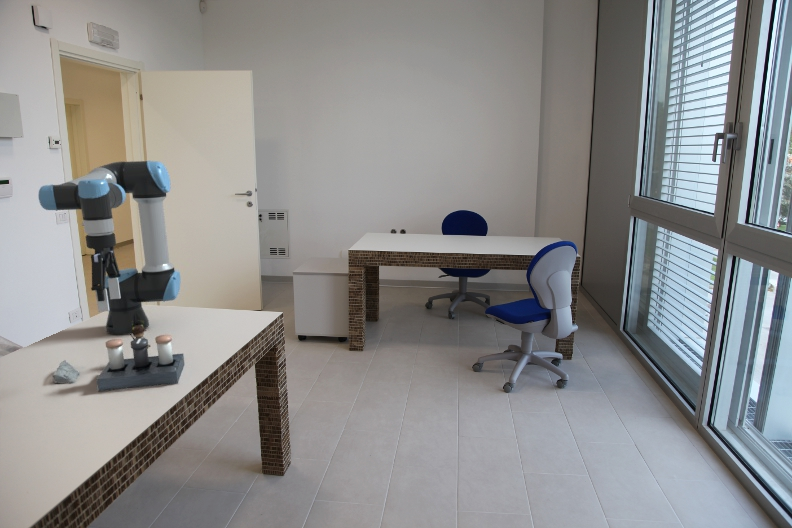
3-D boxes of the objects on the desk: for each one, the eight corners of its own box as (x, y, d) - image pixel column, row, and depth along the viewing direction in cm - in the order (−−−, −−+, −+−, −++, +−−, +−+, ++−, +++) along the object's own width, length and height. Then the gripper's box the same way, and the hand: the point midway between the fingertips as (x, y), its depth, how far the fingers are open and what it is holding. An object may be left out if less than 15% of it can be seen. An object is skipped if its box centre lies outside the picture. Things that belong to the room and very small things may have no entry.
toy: (145, 365, 173) (139, 322, 169) (130, 364, 174) (124, 321, 170) (157, 358, 179) (151, 316, 175) (142, 357, 180) (137, 315, 176)
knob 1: (111, 364, 163) (107, 339, 161) (127, 362, 164) (124, 338, 162) (107, 370, 159) (103, 345, 157) (123, 368, 160) (120, 343, 158)
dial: (135, 361, 165) (132, 338, 163) (151, 360, 166) (149, 336, 164) (131, 368, 160) (128, 343, 158) (148, 366, 161) (145, 342, 159)
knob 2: (159, 359, 166) (156, 335, 164) (175, 358, 167) (172, 333, 165) (156, 365, 162) (153, 340, 160) (172, 364, 163) (169, 339, 161)
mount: (111, 372, 168) (109, 360, 167) (184, 364, 173) (183, 353, 172) (98, 391, 155) (96, 379, 154) (177, 383, 160) (176, 371, 159)
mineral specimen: (85, 370, 172) (84, 358, 171) (76, 383, 161) (75, 370, 160) (62, 372, 170) (61, 360, 169) (51, 385, 159) (50, 372, 158)
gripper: (98, 227, 162) (107, 294, 167) (71, 241, 139) (83, 318, 144) (124, 226, 164) (133, 292, 169) (102, 240, 141) (112, 316, 146)
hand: (110, 304), depth 157 cm, fingers open, 12 cm apart
